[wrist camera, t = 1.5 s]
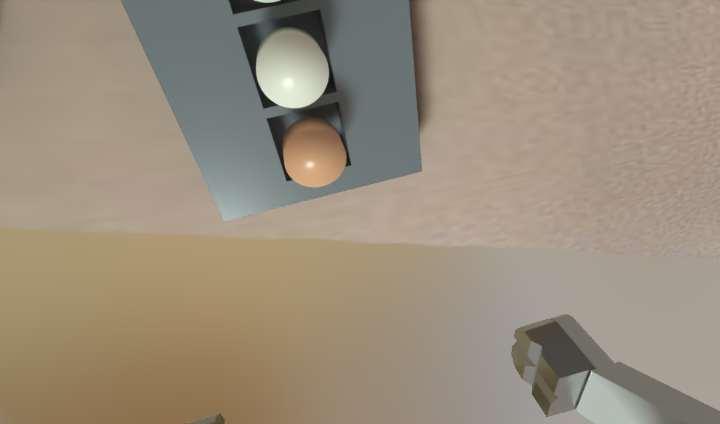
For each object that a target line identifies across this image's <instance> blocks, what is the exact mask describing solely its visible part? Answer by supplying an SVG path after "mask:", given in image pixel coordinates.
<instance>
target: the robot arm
mask: <svg viewBox="0 0 720 424" xmlns="http://www.w3.org/2000/svg"><path fill="white" fill-rule="evenodd" d="M514 337H515V339H516V340H517V342H516V343H515V344H514V345H513V346H512V352H511V355H512V359H513V363H514V365H515V368H516V370H517V371H518V373H519V375H520V376H521V378H522V379H523V380H524V381H526V382H528V383H530V384H531V385H532V395H533V397H534V398H535V400H536V401H537V403H538V404H539V406H540V407H541V409H542V411H543V412H544V414H545V415H546V417H549V416H552V415H556V414H559V413H563V412H566V411H570V410H573V409H576V411H577V412H578V413H580V414H581V415H583V416H584V417H586V418H587V419H588V420H590V421H591V422H593V423H594V424H720V411H718V410H716V409H714V408H712V407H710V406H708V405H706V404H704V403H702V402H700V401H698V400H696V399H694V398H692V397H690V396H688V395H686V394H684V393H682V392H680V391H678V390H676V389H674V388H672V387H670V386H668V385H666V384H664V383H661V382H660V381H657V380H656V379H653V378H651V377H649V376H647V375H645V374H643V373H641V372H639V371H637V370H635V369H633V368H631V367H629V366H627V365H625V364H623V363H621V362H617V363H614V362H613V361H612V360H611V359H610V358H609V357H608V355H607V354H606V353H605V352H604V351H603V350H602V349H601V348H600V347H599V346H598V345H597V343H596V342H595V341H594V340H593V339H592V338H591V337H590V336H589V335H588V333H587V332H586V331H585V330H584V329H583V328H582V327H581V326H580V325H579V323H577V321H576V320H575V319H574V318H573V317H572V316H570V315H568V314H567V315H566V314H564V315H561V316H558V317H554V318H551V319H546V320H543V321H539V322H536V323H533V324H530V325H526V326H523V327H520V328H518V329H516V331H515V334H514ZM184 424H225V419H224V418H223V416H222V415H221V414H220V413H219V414H216V415H212V416H209V417H205V418H202V419H198V420H195V421H191V422H188V423H184Z"/></svg>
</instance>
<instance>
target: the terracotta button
mask: <svg viewBox="0 0 720 424" xmlns="http://www.w3.org/2000/svg"><path fill="white" fill-rule="evenodd" d="M282 146H283V156H284V165H285V168H286V171H287V173H288V175H289V176H290V177H291V178H292V179H293V180H294V181H295V182H297V183H299V184H300V185H303V186H306V187H322V186H325V185H328V184H330V183H332V182H333V181H335V180H336V179H337V178H338V177H339V176H340V175H341V174H342V172H343V170H344V168H345V165H346V151H345V148H344V146H343V143H342V141H341V139H340V136H339V134H338V131H337V130H336V128H335V127H334V126H333V125H332V124H331V123H330V122H328V121H327V120H325V119H322V118H318V117H306V118H302V119H299V120H297V121H296V122H294V123H293V124H292V125H291V126H290V127H289V128H288V129H287V130H286V132H285V134H284V137H283V143H282Z"/></svg>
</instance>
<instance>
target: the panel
mask: <svg viewBox="0 0 720 424" xmlns="http://www.w3.org/2000/svg"><path fill="white" fill-rule="evenodd" d="M121 2H122V4H123V6H124V8H125V10H126V12H127V14H128V17H129V19H130V21H131V23H132V25H133V27H134V29H135V32H136V34H137V36H138V38H139V40H140V42H141V44H142V47H143V49H144V51H145V53H146V55H147V57H148V59H149V62H150V64H151V66H152V68H153V70H154V72H155V74H156V77H157V79H158V81H159V83H160V85H161V87H162V89H163V92H164V94H165V96H166V98H167V100H168V102H169V104H170V106H171V109H172V111H173V113H174V115H175V117H176V119H177V121H178V124H179V126H180V128H181V130H182V132H183V134H184V136H185V139H186V141H187V143H188V145H189V147H190V149H191V151H192V154H193V156H194V158H195V160H196V162H197V164H198V166H199V169H200V171H201V173H202V175H203V177H204V179H205V181H206V184H207V186H208V188H209V190H210V192H211V194H212V196H213V198H214V201H215V203H216V205H217V207H218V209H219V211H220V213H221V216H222V218H223V220H224V221H227V220H231V219H235V218H239V217H243V216H247V215H251V214H255V213H259V212H263V211H267V210H271V209H275V208H279V207H283V206H287V205H291V204H294V203H298V202H302V201H306V200H310V199H314V198H318V197H322V196H326V195H330V194H334V193H338V192H342V191H346V190H350V189H354V188H358V187H362V186H366V185H370V184H374V183H378V182H381V181H385V180H389V179H393V178H397V177H401V176H405V175H409V174H413V173H417V172H421V171H422V165H421V152H420V139H419V125H418V112H417V99H416V86H415V73H414V60H413V47H412V34H411V21H410V8H409V0H280V1H276V2H270V3H264V2H258V1H255V0H121ZM281 27H296V28H299V29H302V30H304V31H305V32H307V33H308V34H310V35H311V36H312V37H313V38H314V39H315V40H316V42H317V43H318V45H319V47H320V48H321V50H322V52H323V53H324V55H325V57H326V60H327V63H328V68H329V78H328V83H327V86H326V88H325V90H324V92H323V93H322V95H321V96H320V97H319V98H318V99H317V100H316V101H315V102H313V103H312V104H310V105H308V106H305V107H302V108H287V107H283V106H280V105H278V104H276V103H274V102H273V101H271V100H270V99H269V98H268V97H267V96H266V95H265V94H264V92H263V91H262V89H261V87H260V85H259V83H258V80H257V75H256V60H257V51H258V48H259V45H260V43H261V42H262V40H263V39H264V38H265V36H266V35H267V34H269V33H270V32H271V31H273V30H275V29H277V28H281ZM306 117H318V118H322V119H325V120H327V121H328V122H330V123H331V124H332V125H333V126H334V127H335V128H336V130H337V131H338V134H339V136H340V139H341V141H342V143H343V146H344V148H345V151H346V165H345V168H344V170H343V172H342V174H341V175H340V176H339V177H338V178H337V179H336V180H335V181H333V182H332V183H330V184H328V185H325V186H322V187H306V186H303V185H300V184H299V183H297V182H295V181H294V180H293V179H292V178H291V177H290V176H289V175H288V173H287V171H286V168H285V165H284V156H283V146H282V143H283V137H284V134H285V132H286V130H287V129H288V128H289V127H290V126H291V125H292V124H293V123H294V122H296V121H297V120H299V119H302V118H306Z"/></svg>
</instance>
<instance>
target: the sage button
mask: <svg viewBox="0 0 720 424" xmlns="http://www.w3.org/2000/svg"><path fill="white" fill-rule="evenodd" d="M255 1H258V2H264V3H270V2H276V1H280V0H255Z"/></svg>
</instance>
